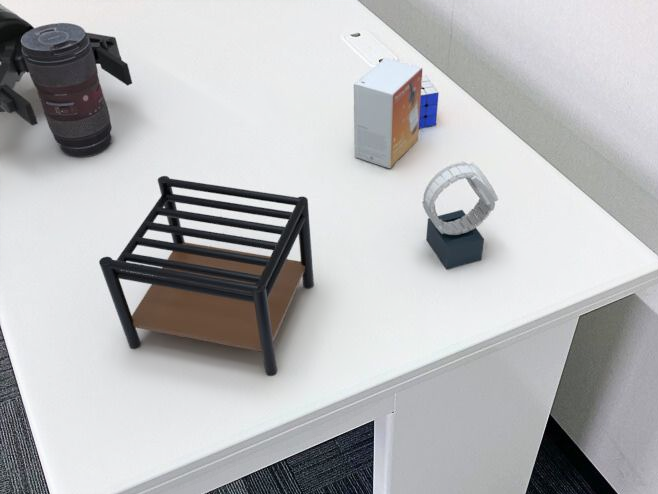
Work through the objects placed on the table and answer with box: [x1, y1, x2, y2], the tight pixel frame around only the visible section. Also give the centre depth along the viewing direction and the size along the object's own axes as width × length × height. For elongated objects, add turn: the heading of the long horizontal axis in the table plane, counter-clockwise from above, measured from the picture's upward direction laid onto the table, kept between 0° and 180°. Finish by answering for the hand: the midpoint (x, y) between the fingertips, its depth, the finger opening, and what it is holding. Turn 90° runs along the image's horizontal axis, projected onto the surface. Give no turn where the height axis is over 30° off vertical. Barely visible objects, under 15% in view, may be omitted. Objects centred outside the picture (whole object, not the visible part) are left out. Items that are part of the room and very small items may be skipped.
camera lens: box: [21, 22, 113, 158], centre depth 95 cm, size 8×8×15 cm
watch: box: [421, 161, 499, 270], centre depth 81 cm, size 6×8×11 cm
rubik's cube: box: [418, 74, 439, 129], centre depth 102 cm, size 5×5×5 cm
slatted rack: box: [98, 175, 315, 376], centre depth 75 cm, size 16×14×12 cm
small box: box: [353, 57, 423, 169], centre depth 95 cm, size 8×6×10 cm
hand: (81, 94), depth 93 cm, fingers open, 13 cm apart
